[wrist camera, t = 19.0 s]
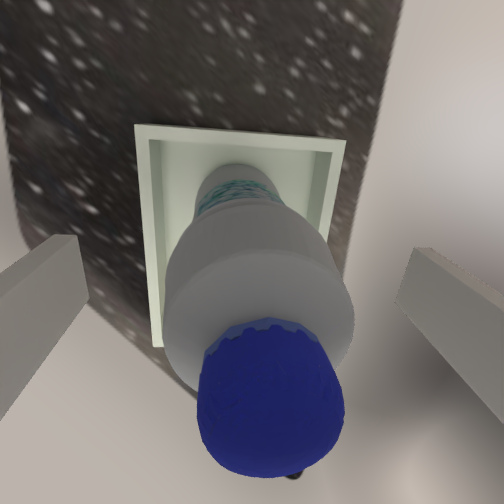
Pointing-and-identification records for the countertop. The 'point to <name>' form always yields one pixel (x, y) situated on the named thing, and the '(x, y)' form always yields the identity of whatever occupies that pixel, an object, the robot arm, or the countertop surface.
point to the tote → (207, 161)
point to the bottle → (257, 326)
